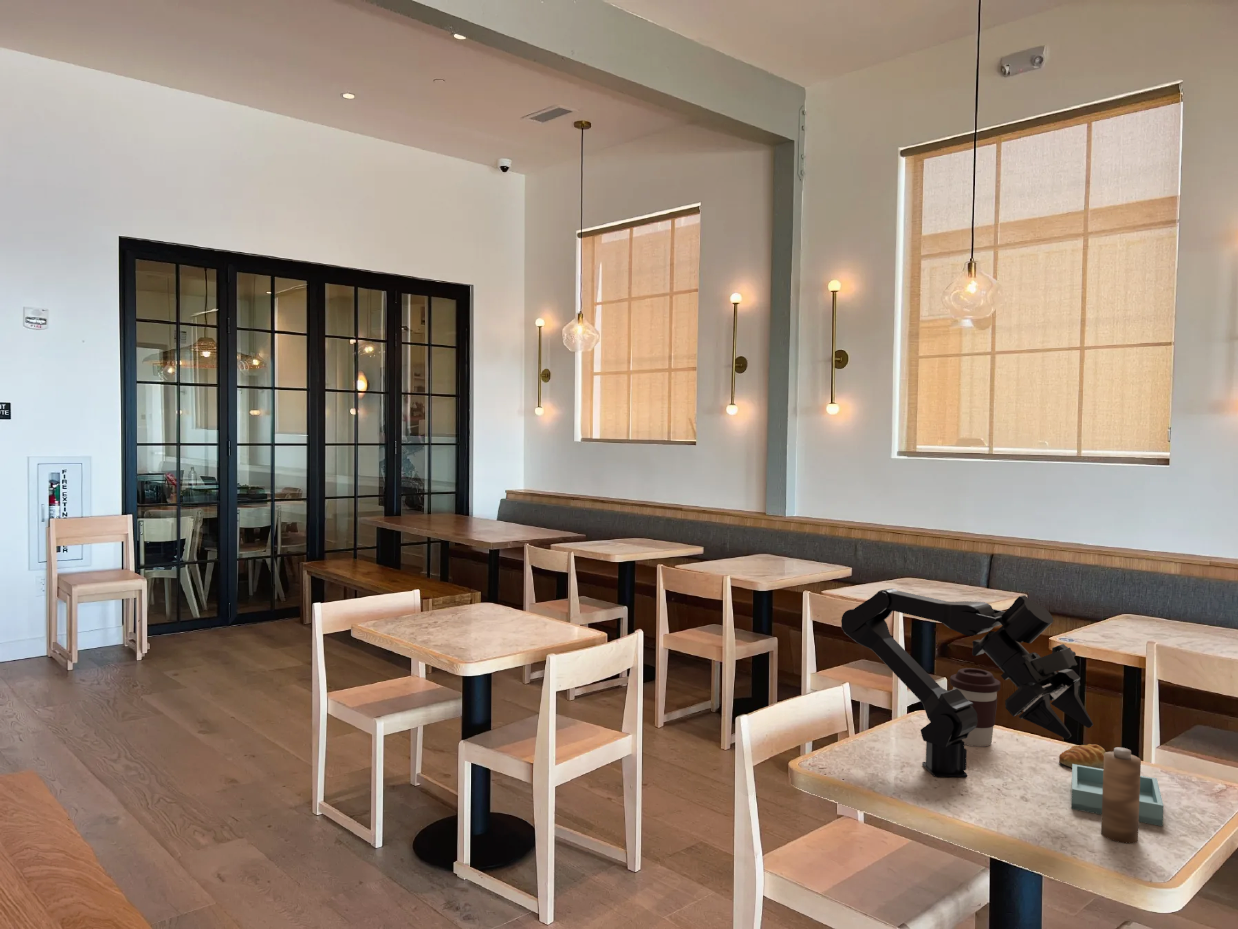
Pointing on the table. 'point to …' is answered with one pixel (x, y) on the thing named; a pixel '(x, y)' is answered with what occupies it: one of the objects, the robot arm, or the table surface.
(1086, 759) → the pastry
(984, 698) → the coffee cup
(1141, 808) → the tray
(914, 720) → the table surface
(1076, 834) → the table surface
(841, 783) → the table surface
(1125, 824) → the pepper mill
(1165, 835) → the table surface
